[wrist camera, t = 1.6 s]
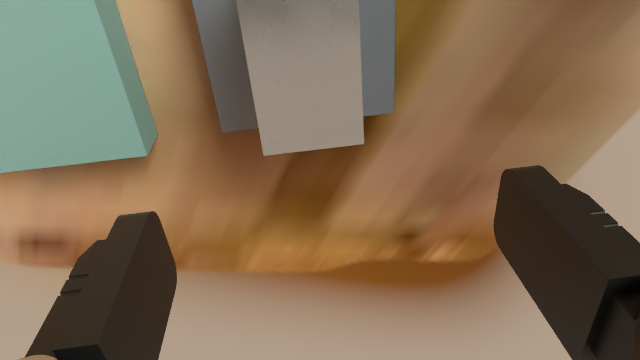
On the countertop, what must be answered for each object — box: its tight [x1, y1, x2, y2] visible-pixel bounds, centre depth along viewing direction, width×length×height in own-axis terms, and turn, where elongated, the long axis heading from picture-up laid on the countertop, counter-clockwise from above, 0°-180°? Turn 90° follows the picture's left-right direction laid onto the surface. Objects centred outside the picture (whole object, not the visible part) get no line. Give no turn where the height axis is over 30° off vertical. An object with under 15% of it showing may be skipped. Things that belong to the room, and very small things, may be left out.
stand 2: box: [192, 0, 395, 133], centre depth 26 cm, size 11×11×3 cm
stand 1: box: [0, 0, 158, 173], centre depth 26 cm, size 11×11×3 cm
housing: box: [236, 0, 364, 156], centre depth 22 cm, size 8×5×6 cm, turn 5°
